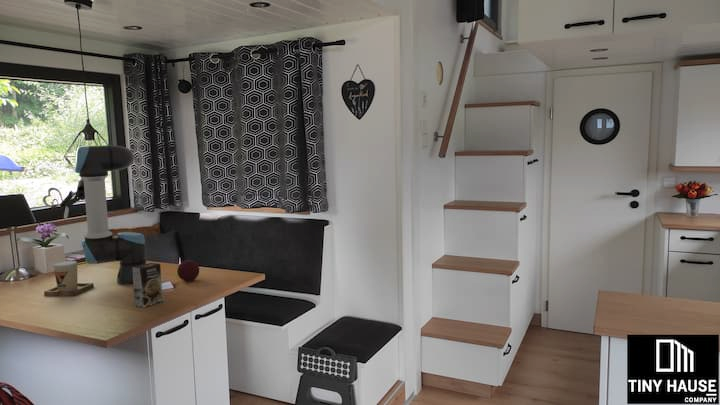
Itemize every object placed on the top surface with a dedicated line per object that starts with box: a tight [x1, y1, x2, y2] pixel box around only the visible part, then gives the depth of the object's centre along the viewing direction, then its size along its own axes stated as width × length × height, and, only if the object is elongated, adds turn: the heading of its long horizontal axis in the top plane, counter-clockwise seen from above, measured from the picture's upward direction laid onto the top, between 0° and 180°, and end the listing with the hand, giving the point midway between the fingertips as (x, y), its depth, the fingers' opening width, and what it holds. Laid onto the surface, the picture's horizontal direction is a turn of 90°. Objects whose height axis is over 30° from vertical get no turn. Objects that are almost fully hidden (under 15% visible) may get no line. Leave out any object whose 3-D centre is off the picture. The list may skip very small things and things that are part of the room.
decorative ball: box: [176, 259, 200, 282], centre depth 253 cm, size 10×10×10 cm
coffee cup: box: [53, 260, 78, 291], centre depth 239 cm, size 9×9×12 cm
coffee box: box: [132, 262, 164, 308], centre depth 218 cm, size 9×6×16 cm
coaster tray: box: [43, 282, 95, 297], centre depth 240 cm, size 14×14×2 cm
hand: (80, 217), depth 262 cm, fingers open, 13 cm apart
